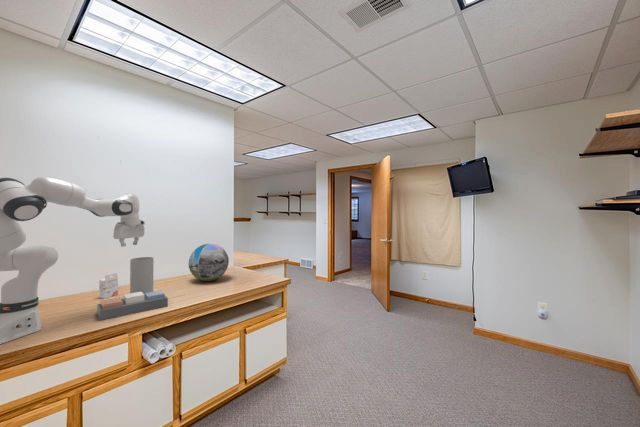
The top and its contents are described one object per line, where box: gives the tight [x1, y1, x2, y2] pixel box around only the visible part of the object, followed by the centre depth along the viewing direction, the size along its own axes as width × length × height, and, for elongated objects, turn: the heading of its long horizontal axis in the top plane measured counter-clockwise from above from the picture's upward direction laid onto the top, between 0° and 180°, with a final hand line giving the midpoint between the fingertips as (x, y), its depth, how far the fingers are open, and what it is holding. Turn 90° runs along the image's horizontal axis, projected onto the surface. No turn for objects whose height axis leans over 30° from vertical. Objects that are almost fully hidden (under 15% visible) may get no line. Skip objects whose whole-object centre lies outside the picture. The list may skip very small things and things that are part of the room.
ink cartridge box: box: [98, 272, 119, 300], centre depth 171 cm, size 9×5×15 cm, turn 168°
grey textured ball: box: [188, 243, 230, 282], centre depth 213 cm, size 30×30×30 cm
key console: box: [96, 294, 169, 321], centre depth 149 cm, size 31×13×5 cm, turn 134°
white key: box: [123, 292, 144, 305], centre depth 149 cm, size 8×8×4 cm
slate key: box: [145, 290, 165, 301], centre depth 156 cm, size 8×8×4 cm
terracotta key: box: [100, 297, 123, 309], centre depth 142 cm, size 8×8×4 cm
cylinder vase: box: [129, 256, 154, 296], centre depth 171 cm, size 12×12×25 cm
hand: (129, 245), depth 153 cm, fingers open, 8 cm apart
